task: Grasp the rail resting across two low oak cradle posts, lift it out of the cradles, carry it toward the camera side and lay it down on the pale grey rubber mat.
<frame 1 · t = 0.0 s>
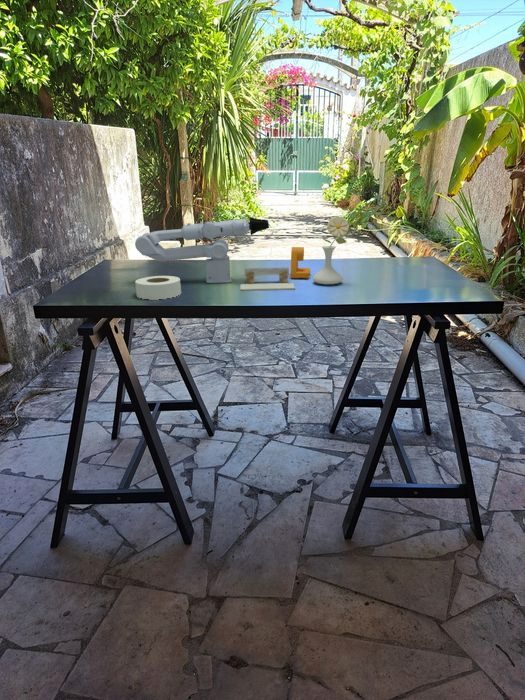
hand: (268, 223, 182), 22 cm above the table, tool horizontal, fingers open, 7 cm apart
mat: (267, 287, 178), on the table
flower in vase: (329, 283, 183), on the table
roll of tape: (159, 295, 171), on the table
rail: (266, 274, 185), point 3 cm above the table, touching post left, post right
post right: (283, 281, 186), on the table
bracket: (300, 277, 195), on the table
post left: (250, 282, 186), on the table
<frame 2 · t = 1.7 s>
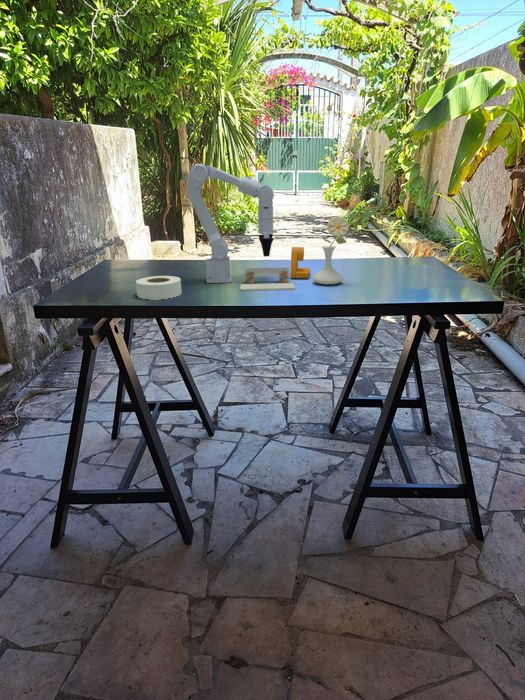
hand: (266, 254, 188), 10 cm above the table, tool pointing down, fingers open, 7 cm apart
nothing on the table moved.
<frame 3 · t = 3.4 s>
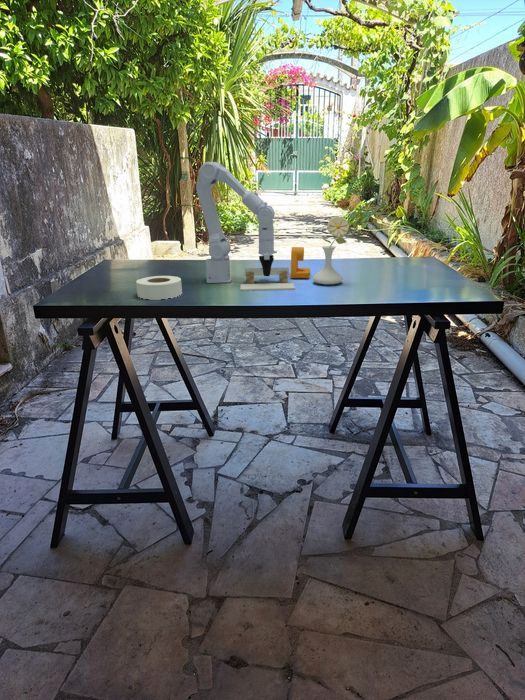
hand: (266, 275, 185), 3 cm above the table, tool pointing down, fingers closed on rail, 2 cm apart
rail: (266, 274, 185), point 3 cm above the table, touching gripper, post left, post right
everything else where it was.
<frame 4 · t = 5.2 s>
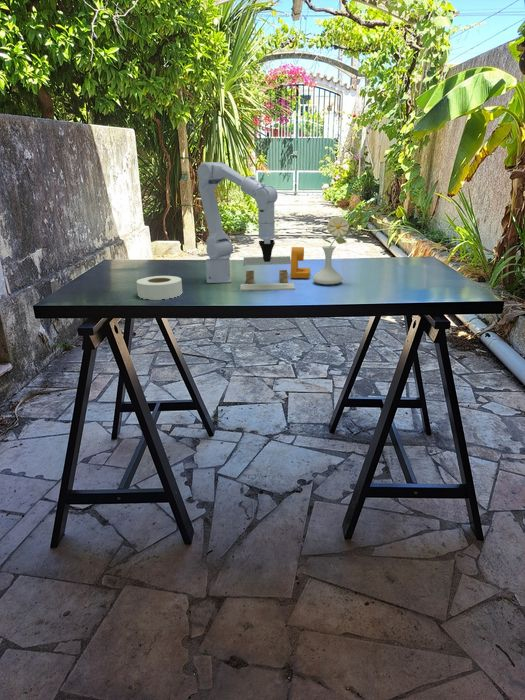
hand: (267, 261, 175), 10 cm above the table, tool pointing down, fingers closed on rail, 2 cm apart
rail: (267, 264, 175), point 9 cm above the table, touching gripper
everything else where it was.
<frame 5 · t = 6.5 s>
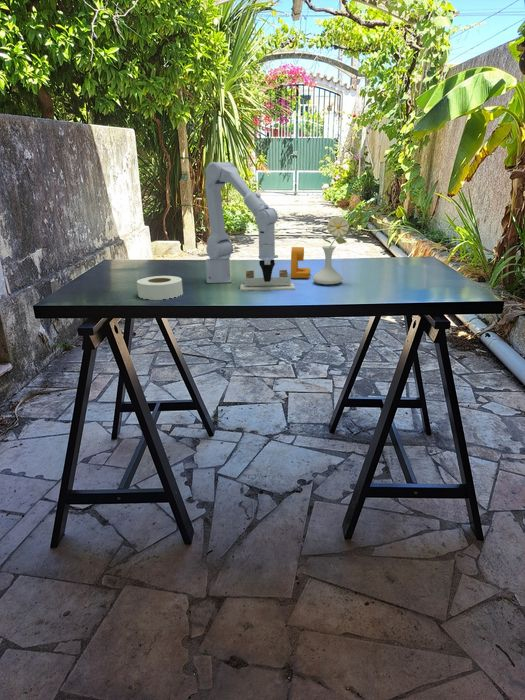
hand: (267, 280, 177), 3 cm above the table, tool pointing down, fingers closed on rail, 2 cm apart
rail: (267, 284, 178), point 1 cm above the table, touching gripper
everything else where it was.
when the fingers open (2 cm above the table, at t = 7.0 s): rail stays where it is, resting on mat.
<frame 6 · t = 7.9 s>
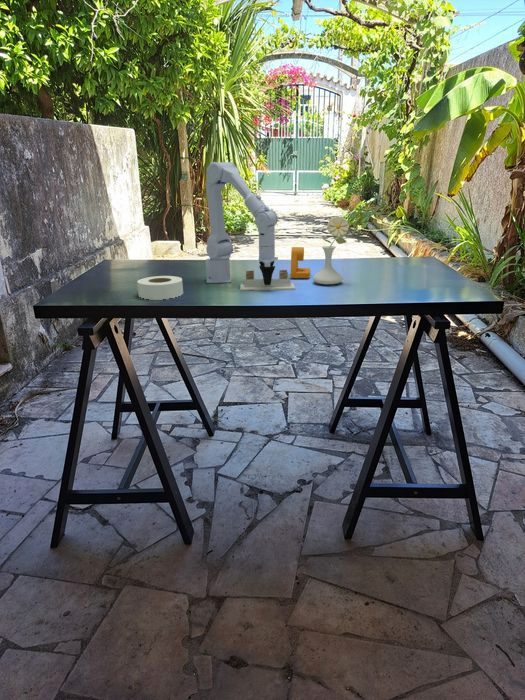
hand: (267, 282, 177), 2 cm above the table, tool pointing down, fingers open, 7 cm apart
rail: (267, 286, 178), point 1 cm above the table, touching mat
everything else where it was.
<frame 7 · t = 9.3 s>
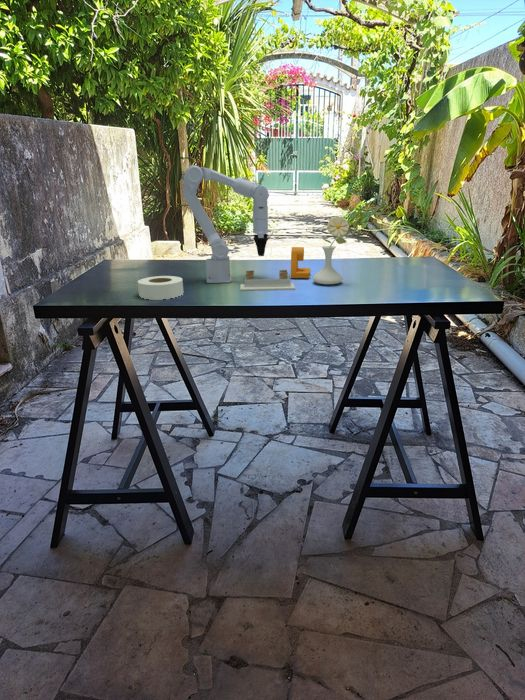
hand: (261, 254, 188), 10 cm above the table, tool pointing down, fingers open, 7 cm apart
nothing on the table moved.
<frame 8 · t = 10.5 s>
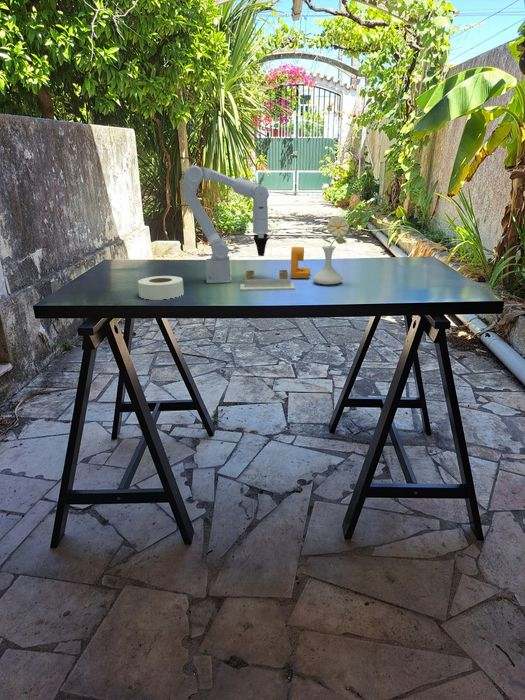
hand: (261, 254, 188), 10 cm above the table, tool pointing down, fingers open, 7 cm apart
nothing on the table moved.
at the end: rail inside the target area on the mat (0.0 cm from its centre), point 0.6 cm above the mat's base; rail moved 9.3 cm from its start; the gripper is holding nothing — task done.
